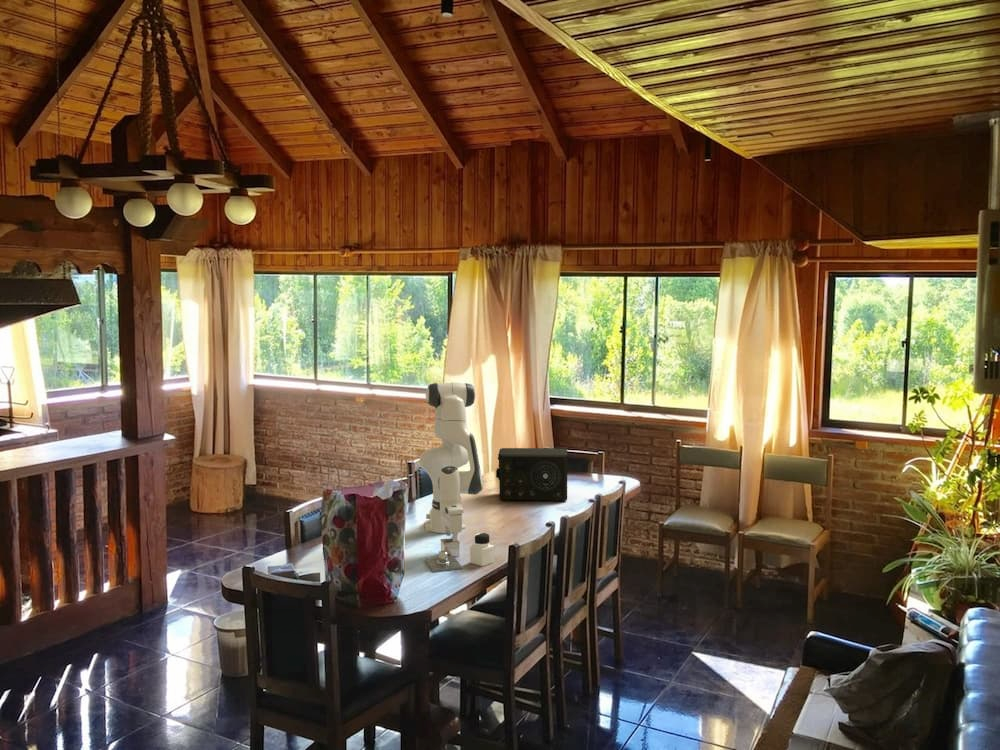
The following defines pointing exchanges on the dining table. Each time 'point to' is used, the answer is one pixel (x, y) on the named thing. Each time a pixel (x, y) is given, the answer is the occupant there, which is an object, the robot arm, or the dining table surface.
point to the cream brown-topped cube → (450, 547)
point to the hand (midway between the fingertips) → (451, 538)
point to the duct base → (443, 563)
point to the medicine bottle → (482, 550)
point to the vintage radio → (532, 474)
